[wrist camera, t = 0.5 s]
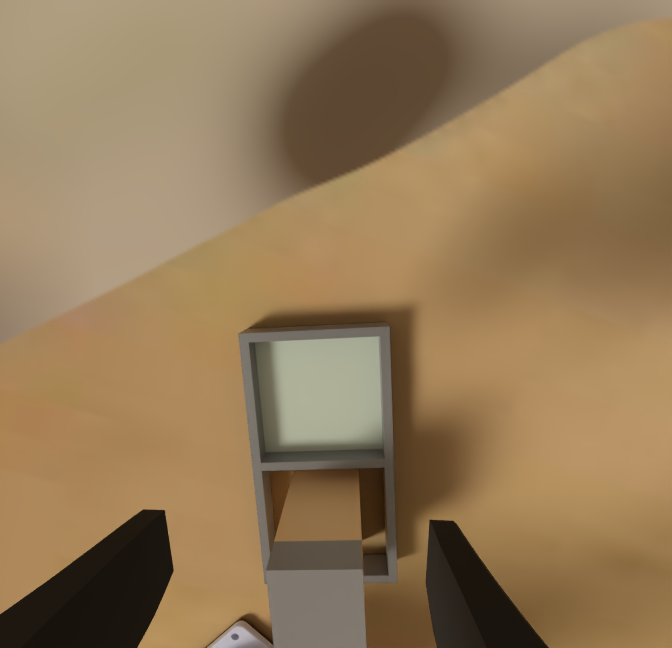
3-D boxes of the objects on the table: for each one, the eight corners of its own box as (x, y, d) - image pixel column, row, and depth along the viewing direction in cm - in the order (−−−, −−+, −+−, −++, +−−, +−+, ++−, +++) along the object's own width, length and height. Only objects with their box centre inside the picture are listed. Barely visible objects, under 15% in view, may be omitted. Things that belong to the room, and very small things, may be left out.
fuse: (362, 540, 21) (367, 669, 15) (299, 541, 22) (275, 669, 15) (358, 468, 21) (362, 569, 14) (293, 470, 21) (265, 570, 14)
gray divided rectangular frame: (394, 560, 22) (397, 582, 20) (270, 562, 22) (264, 584, 20) (386, 321, 19) (389, 326, 18) (246, 328, 19) (238, 333, 18)
